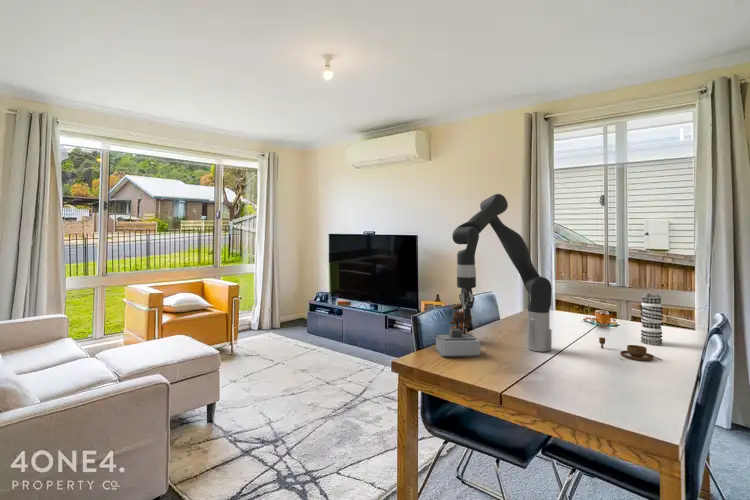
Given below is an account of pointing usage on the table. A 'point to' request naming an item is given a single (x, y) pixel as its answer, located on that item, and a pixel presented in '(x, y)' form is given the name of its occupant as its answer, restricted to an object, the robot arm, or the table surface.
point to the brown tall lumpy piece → (459, 319)
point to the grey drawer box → (453, 336)
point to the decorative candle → (651, 319)
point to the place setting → (633, 352)
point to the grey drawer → (461, 348)
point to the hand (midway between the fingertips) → (467, 318)
